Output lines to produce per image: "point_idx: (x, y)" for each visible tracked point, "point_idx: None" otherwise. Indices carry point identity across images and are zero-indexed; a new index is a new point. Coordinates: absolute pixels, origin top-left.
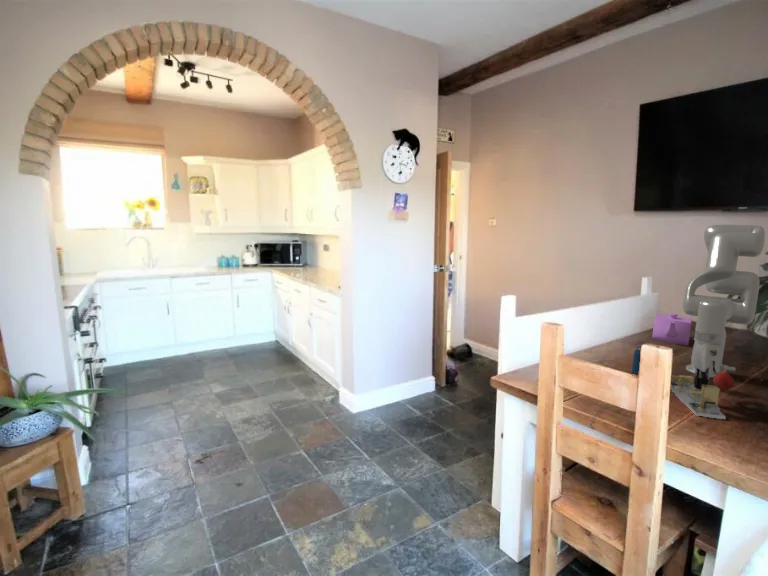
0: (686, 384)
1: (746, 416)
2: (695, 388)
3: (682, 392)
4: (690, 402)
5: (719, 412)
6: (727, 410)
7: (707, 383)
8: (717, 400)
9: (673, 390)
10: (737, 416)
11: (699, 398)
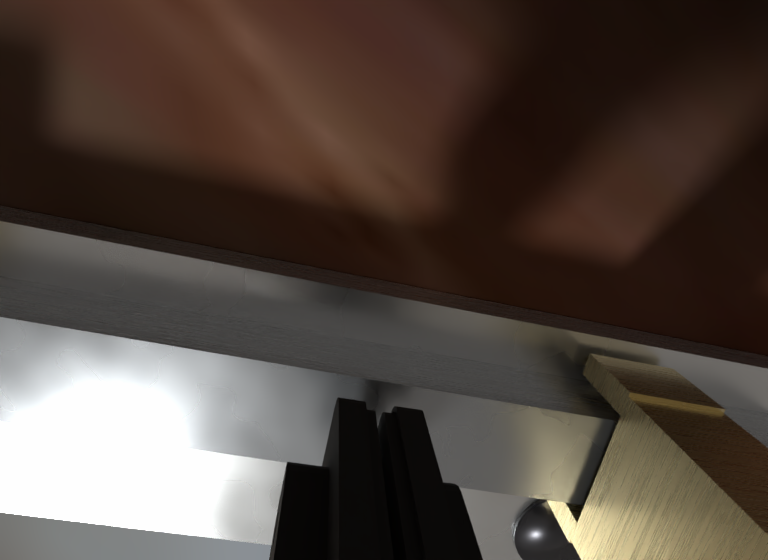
0: (23, 420)
1: (755, 41)
2: (195, 389)
3: (202, 474)
4: (492, 532)
5: (738, 384)
6: (591, 168)
7: (441, 487)
8: (747, 437)
9: (121, 514)
10: (740, 163)
11: (573, 540)
